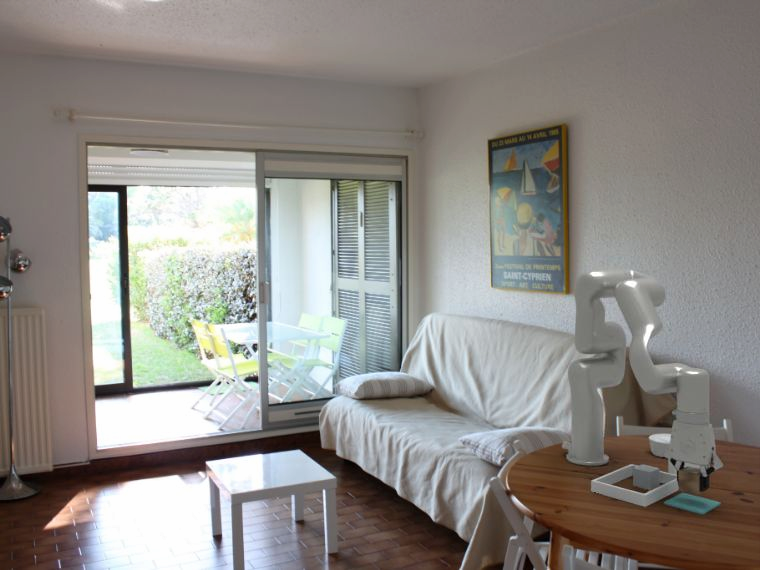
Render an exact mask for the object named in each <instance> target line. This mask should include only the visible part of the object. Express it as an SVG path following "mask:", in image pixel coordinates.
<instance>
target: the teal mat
mask: <svg viewBox="0 0 760 570" xmlns="http://www.w3.org/2000/svg"><path fill="white" fill-rule="evenodd" d="M663 504H664V505H666V506H669V507H673V508H677V509H679V510H685V511H688V512H691V513H695V514H699V515H703V516H704V515H705V514H706V513H708V512H710V511H712V510H713V509H715V508H717V507H719V506H721V505H722V504H721V502H720V501H717V500H712V499H709V498H705V497H702V496H697V495H695V494H694V495H693V494H691V493H687V492H681V493H679V494H677V495H675V496H674V497H671V498H670V499H667V500H665V501H663Z"/></svg>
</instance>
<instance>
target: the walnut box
mask: <svg viewBox="0 0 760 570" xmlns="http://www.w3.org/2000/svg"><path fill="white" fill-rule="evenodd" d="M700 476H702V473H701V469H698V468H693V467H689V466H687V467H685V468H683V469H681V470H679V490H678V491H681V492H684V493H688V494H692V495H693V494H694V495H696V496H697V495H700V494H702V493H703V492H701V491H700Z"/></svg>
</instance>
